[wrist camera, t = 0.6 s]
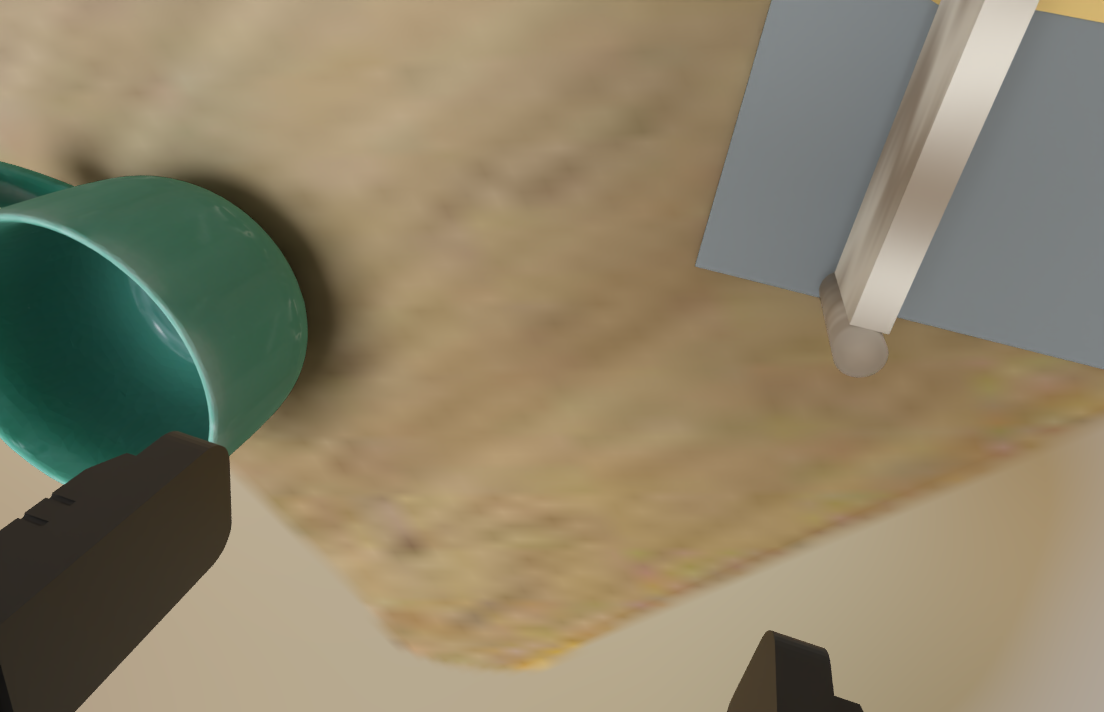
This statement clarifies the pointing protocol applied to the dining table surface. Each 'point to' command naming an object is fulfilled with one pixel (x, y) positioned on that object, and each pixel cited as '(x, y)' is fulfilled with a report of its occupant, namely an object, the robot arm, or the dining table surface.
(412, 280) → the dining table surface
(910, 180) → the hinged panel
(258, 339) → the mug
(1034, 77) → the card
